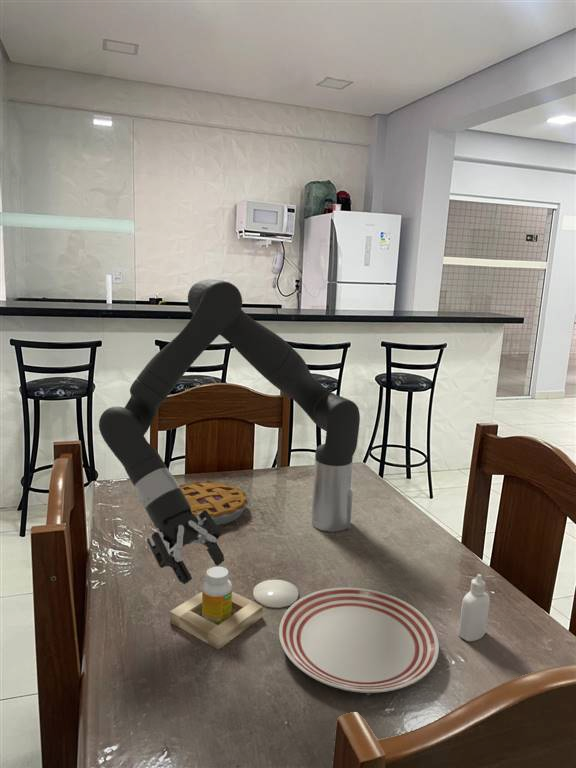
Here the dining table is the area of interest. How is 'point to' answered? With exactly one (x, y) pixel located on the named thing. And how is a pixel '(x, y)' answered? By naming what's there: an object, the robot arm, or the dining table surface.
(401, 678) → the dinner plate
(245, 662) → the dining table surface
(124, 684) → the dining table surface
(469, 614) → the eye dropper bottle
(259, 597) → the pale ceramic coaster
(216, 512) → the pie
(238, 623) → the birch pocket block
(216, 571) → the supplement bottle
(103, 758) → the dining table surface
